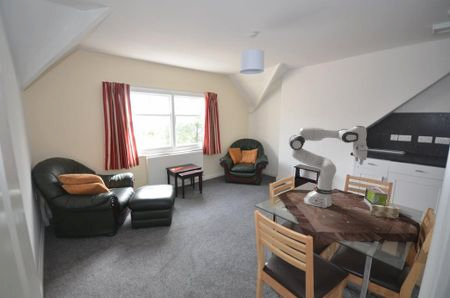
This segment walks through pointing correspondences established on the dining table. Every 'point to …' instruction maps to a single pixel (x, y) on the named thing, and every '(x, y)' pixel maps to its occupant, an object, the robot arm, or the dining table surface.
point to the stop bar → (384, 211)
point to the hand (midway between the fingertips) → (358, 162)
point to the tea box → (375, 196)
